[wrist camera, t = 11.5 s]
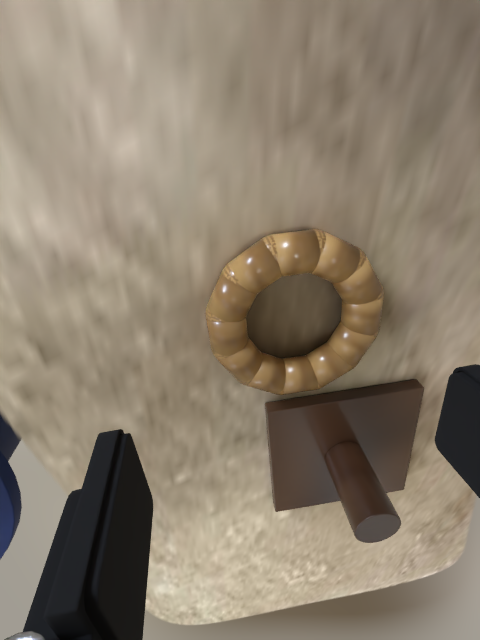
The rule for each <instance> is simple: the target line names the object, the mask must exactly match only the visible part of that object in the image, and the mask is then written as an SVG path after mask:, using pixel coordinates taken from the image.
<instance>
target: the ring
mask: <svg viewBox="0 0 480 640" xmlns="http://www.w3.org/2000/svg"><path fill="white" fill-rule="evenodd" d="M306 273H311V274H313V275H316V276H318V277H321V278H323V279H325V280H328V281H330V282H332V284H333V286H334V287H335V289H336V290H337V292H338V294H339V295H340V297H341V298H342V309H341V321H340V323H339V324H338V326H337V328H336V329H335V331H334V332H333V334H332V336H331V337H330V339H329V340H328V341H327V342H326V343H324V344H323V345H321V346H320V347H318V348H316V349H315V350H313V351H312V352H310V353H309V354H307V355H304V356H297V357H290V358H283V359H281V358H278V357H275V356H272V355H268V354H265V353H262V352H260V351H259V349H258V348H257V347H256V346H255V345H254V344H253V342H252V341H251V340H250V339H249V338H248V332H247V322H246V315H247V313H248V311H249V309H250V307H251V305H252V303H253V301H254V299H255V297H256V295H257V294H258V293H259V292H261V291H262V290H263V289H265V288H266V287H268V286H269V285H271V284H272V283H273V282H275V281H276V280H278V279H279V278H280V277H283V276H291V275H298V274H306ZM383 296H384V291H383V287H382V285H381V283H380V281H379V279H378V277H377V275H376V273H375V272H374V270H373V268H372V266H371V264H370V262H369V261H368V259H367V257H366V255H365V253H364V252H363V251H362V250H361V249H360V248H358V247H356V246H354V245H352V244H350V243H347V242H345V241H343V240H341V239H339V238H337V237H335V236H333V235H330V234H328V233H326V232H324V231H321V230H317V229H311V230H303V231H295V232H287V233H280V234H272V235H268V236H265V237H263V238H262V239H260V240H259V241H258V242H256V243H255V244H254V245H252V246H251V247H250V248H248V249H247V250H245V251H244V252H243V253H241V254H240V255H239V256H237V257H236V258H235V259H233V260H232V261H231V262H229V263H228V264H227V265H226V266H225V267H224V269H223V271H222V273H221V275H220V277H219V280H218V282H217V284H216V286H215V289H214V291H213V293H212V295H211V298H210V300H209V302H208V305H207V307H206V320H207V326H208V332H209V338H210V344H211V349H212V353H213V354H214V356H215V357H216V358H217V359H218V361H219V362H220V363H221V364H222V365H223V366H224V367H225V368H226V369H227V370H228V371H229V372H230V373H231V374H232V375H233V376H234V377H235V378H236V379H237V380H238V381H239V382H240V383H242V384H244V385H247V386H250V387H253V388H257V389H260V390H264V391H267V392H270V393H274V394H278V395H284V394H290V393H297V392H303V391H310V390H316V389H320V388H322V387H324V386H325V385H327V384H329V383H330V382H332V381H334V380H335V379H337V378H339V377H340V376H342V375H343V374H345V373H347V372H348V371H350V370H352V369H353V368H354V367H355V366H356V365H357V364H358V363H359V361H360V360H361V358H362V357H363V355H364V354H365V353H366V351H367V350H368V348H369V347H370V345H371V344H372V343H373V341H374V340H375V338H376V337H377V335H378V333H379V330H380V323H381V314H382V305H383Z"/></svg>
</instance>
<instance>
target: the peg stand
mask: <svg viewBox="0 0 480 640" xmlns="http://www.w3.org/2000/svg"><path fill="white" fill-rule="evenodd" d="M423 392H424V387H423V386H422V385H421V384H420V382H419V381H418V380H409V381H403V382H397V383H390V384H384V385H377V386H371V387H364V388H358V389H352V390H345V391H339V392H332V393H326V394H319V395H313V396H307V397H300V398H294V399H287V400H281V401H274V402H268V403H265V410H266V422H267V434H268V446H269V458H270V469H271V481H272V493H273V503H274V508H275V511H276V512H278V511H284V510H290V509H295V508H301V507H307V506H313V505H319V504H324V503H330V502H336V501H341V503H342V505H343V508H344V510H345V513H346V515H347V518H348V520H349V523H350V525H351V528H352V530H353V533H354V535H355V537H356V538H357V539H358V540H359V541H361V542H366V543H373V542H379V541H382V540H385V539H387V538H389V537H391V536H392V535H393V534H395V533H396V532H397V531H398V529H399V528H400V525H401V520H400V518H399V516H398V514H397V512H396V510H395V508H394V507H393V505H392V503H391V501H390V499H389V497H388V496H387V494H386V493H388V492H394V491H399V490H404V486H405V481H406V476H407V471H408V466H409V461H410V456H411V451H412V446H413V441H414V436H415V432H416V427H417V422H418V417H419V412H420V407H421V402H422V397H423Z"/></svg>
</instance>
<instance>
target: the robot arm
mask: <svg viewBox="0 0 480 640" xmlns="http://www.w3.org/2000/svg"><path fill="white" fill-rule="evenodd" d="M435 443H436V446H437V448H438V450H439V451H440V453H441V454H442V455H443V456H444V457H445V458H446V460H447V461H448V462H449V463H450V464H451V465H452V467H453V468H454V469H455V470H456V471H457V472H458V474H459V475H460V476H461V477H462V478H463V479H464V481H465V482H466V483H467V484H468V485H469V486H470V488H471V489H472V490H473V491H474V492H475V493H476V495H477V496H478V497H479V498H480V365H476V364H475V365H469V366H464V367H459V368H456V369H455V370H454V371H453V374H451V375H450V377H449V380H448V384H447V389H446V393H445V397H444V402H443V406H442V410H441V414H440V419H439V423H438V427H437V432H436V436H435ZM152 517H153V499H152V495H151V492H150V489H149V486H148V483H147V480H146V477H145V474H144V471H143V468H142V465H141V462H140V459H139V456H138V454H137V451H136V448H135V445H134V442H133V439H132V436H131V434H130V433H128V434H124V432H123V430H122V429H119V430H114V431H108V432H103V433H100V434H99V435H98V437H97V440H96V443H95V446H94V450H93V453H92V456H91V460H90V463H89V466H88V470H87V473H86V476H85V480H84V483H83V486H82V489H79V490H75V491H72V492H71V494H70V495H69V496H68V499H67V501H66V504H65V507H64V510H63V513H62V516H61V519H60V522H59V525H58V528H57V531H56V534H55V537H54V540H53V543H52V546H51V549H50V552H49V555H48V558H47V561H46V564H45V567H44V570H43V573H42V576H41V579H40V582H39V585H38V587H37V591H36V594H35V597H34V600H33V603H32V605H31V609H30V611H29V614H28V617H27V621H26V623H25V627H24V629H23V632H21V633H17V634H15V635H13V636H11V637H9V638H7V639H5V640H142V638H143V625H144V613H145V601H146V589H147V577H148V565H149V553H150V541H151V529H152Z"/></svg>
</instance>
